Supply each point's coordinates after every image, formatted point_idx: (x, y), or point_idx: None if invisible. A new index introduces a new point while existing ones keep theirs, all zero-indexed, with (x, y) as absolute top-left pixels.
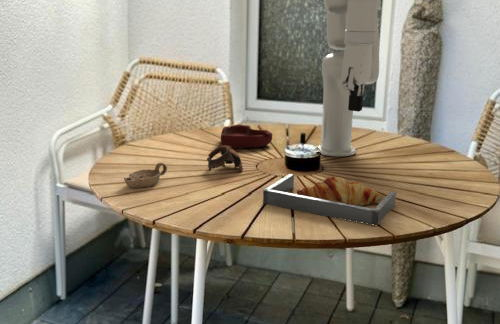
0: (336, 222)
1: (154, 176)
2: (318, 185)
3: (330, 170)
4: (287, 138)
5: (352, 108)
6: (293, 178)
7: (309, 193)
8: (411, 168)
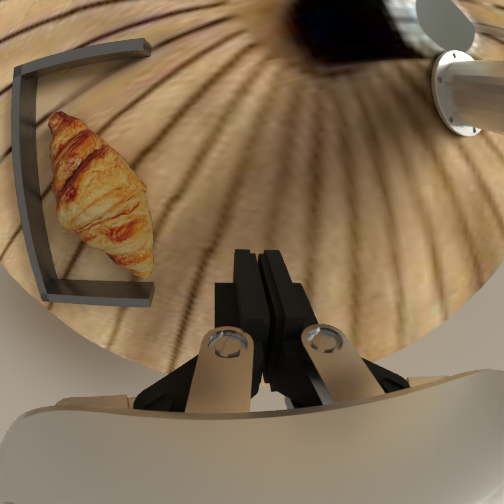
0: None
1: None
2: (60, 162)
3: (332, 95)
4: (485, 3)
5: (234, 281)
6: (142, 51)
7: (50, 148)
8: (401, 259)
